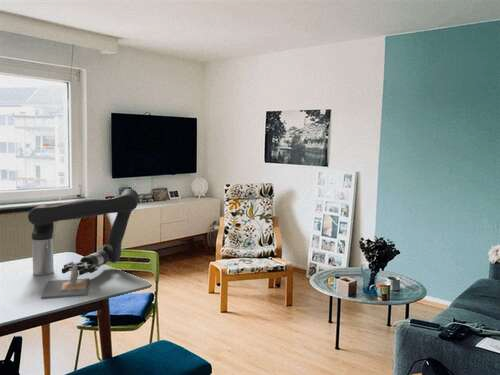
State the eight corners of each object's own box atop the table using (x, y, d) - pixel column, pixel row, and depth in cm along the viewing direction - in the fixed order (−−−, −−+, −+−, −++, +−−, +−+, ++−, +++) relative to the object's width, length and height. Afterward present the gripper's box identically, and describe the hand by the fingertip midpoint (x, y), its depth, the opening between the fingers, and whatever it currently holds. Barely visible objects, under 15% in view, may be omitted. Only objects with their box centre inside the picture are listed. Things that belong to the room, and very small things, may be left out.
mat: (47, 282, 207) (47, 280, 207) (89, 279, 213) (89, 277, 213) (41, 298, 187) (41, 296, 187) (87, 295, 193) (87, 292, 193)
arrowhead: (73, 288, 198) (72, 266, 197) (67, 288, 198) (66, 265, 197) (81, 282, 206) (80, 261, 205) (75, 282, 206) (74, 260, 205)
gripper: (78, 253, 216) (56, 262, 200) (105, 255, 213) (85, 265, 197) (78, 268, 217) (57, 278, 201) (105, 271, 214) (85, 281, 198)
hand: (71, 272), depth 199 cm, fingers open, 8 cm apart
